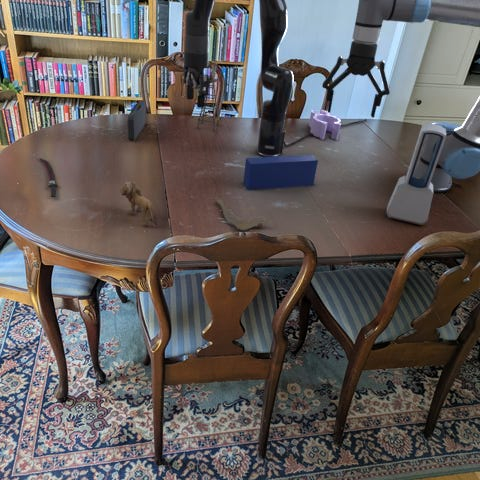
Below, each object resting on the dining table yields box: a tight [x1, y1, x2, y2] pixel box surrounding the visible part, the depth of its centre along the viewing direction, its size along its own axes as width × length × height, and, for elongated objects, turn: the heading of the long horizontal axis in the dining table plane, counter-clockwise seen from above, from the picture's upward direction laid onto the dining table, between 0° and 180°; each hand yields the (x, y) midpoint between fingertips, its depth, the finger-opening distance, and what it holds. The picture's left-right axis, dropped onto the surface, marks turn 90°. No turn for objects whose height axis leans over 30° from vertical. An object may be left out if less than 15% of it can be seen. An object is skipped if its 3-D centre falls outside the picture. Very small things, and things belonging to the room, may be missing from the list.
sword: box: [40, 158, 59, 198], centre depth 151 cm, size 31×3×1 cm, turn 26°
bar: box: [242, 154, 319, 191], centre depth 160 cm, size 25×5×10 cm, turn 109°
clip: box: [308, 109, 342, 141], centre depth 212 cm, size 20×12×7 cm, turn 11°
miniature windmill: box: [196, 55, 220, 132], centre depth 197 cm, size 9×8×30 cm
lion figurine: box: [119, 181, 159, 227], centre depth 134 cm, size 15×5×9 cm, turn 50°
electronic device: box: [386, 123, 446, 226], centre depth 142 cm, size 12×8×30 cm, turn 71°
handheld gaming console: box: [127, 99, 147, 141], centre depth 190 cm, size 23×3×10 cm, turn 178°
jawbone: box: [216, 198, 270, 232], centre depth 140 cm, size 9×20×2 cm, turn 50°
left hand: (195, 103), depth 149 cm, fingers open, 8 cm apart
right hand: (350, 113), depth 147 cm, fingers open, 13 cm apart
